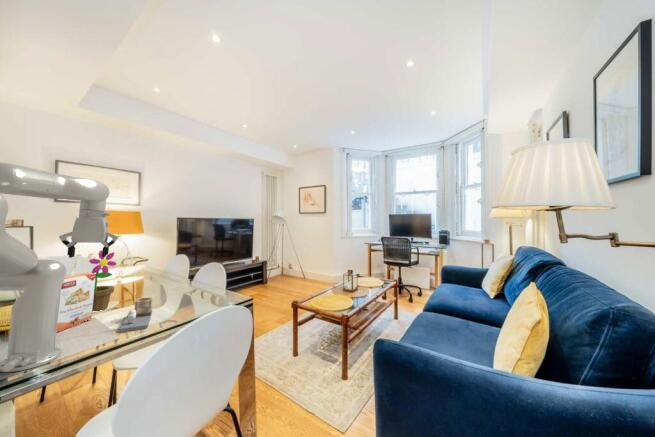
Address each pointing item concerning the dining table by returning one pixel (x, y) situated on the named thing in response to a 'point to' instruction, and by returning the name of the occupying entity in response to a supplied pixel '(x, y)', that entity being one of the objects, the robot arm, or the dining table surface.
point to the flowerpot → (102, 292)
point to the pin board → (135, 322)
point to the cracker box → (75, 300)
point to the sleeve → (143, 306)
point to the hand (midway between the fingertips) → (88, 256)
